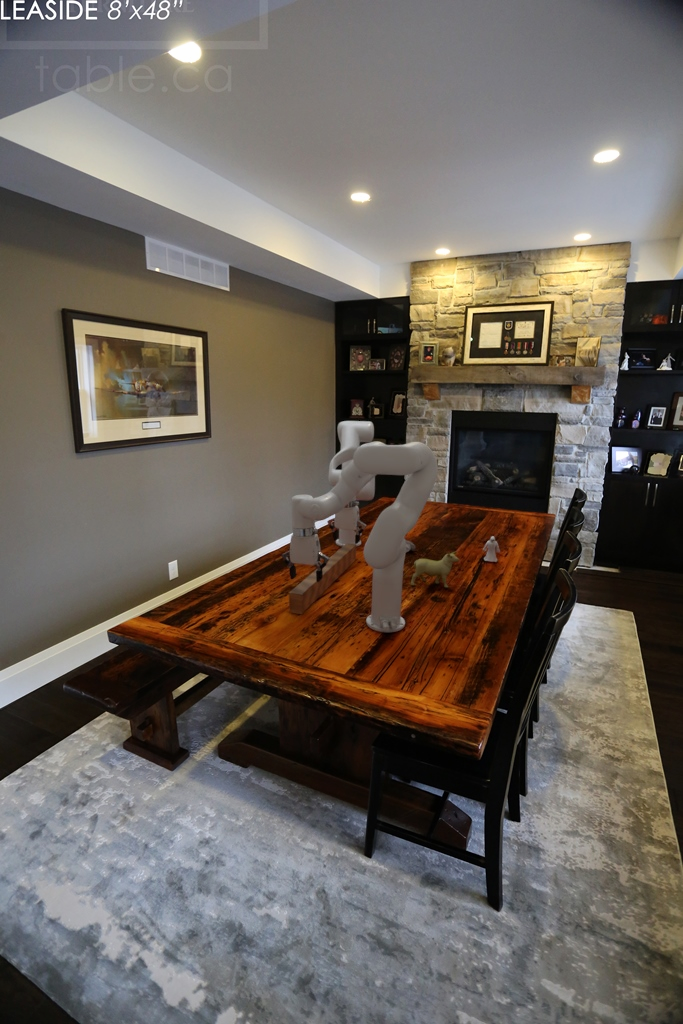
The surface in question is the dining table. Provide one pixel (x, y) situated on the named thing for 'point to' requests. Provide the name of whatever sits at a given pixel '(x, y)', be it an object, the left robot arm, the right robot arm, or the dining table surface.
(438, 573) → the toy
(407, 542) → the seashell
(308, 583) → the beam
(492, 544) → the figurine
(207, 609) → the dining table surface
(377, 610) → the right robot arm
